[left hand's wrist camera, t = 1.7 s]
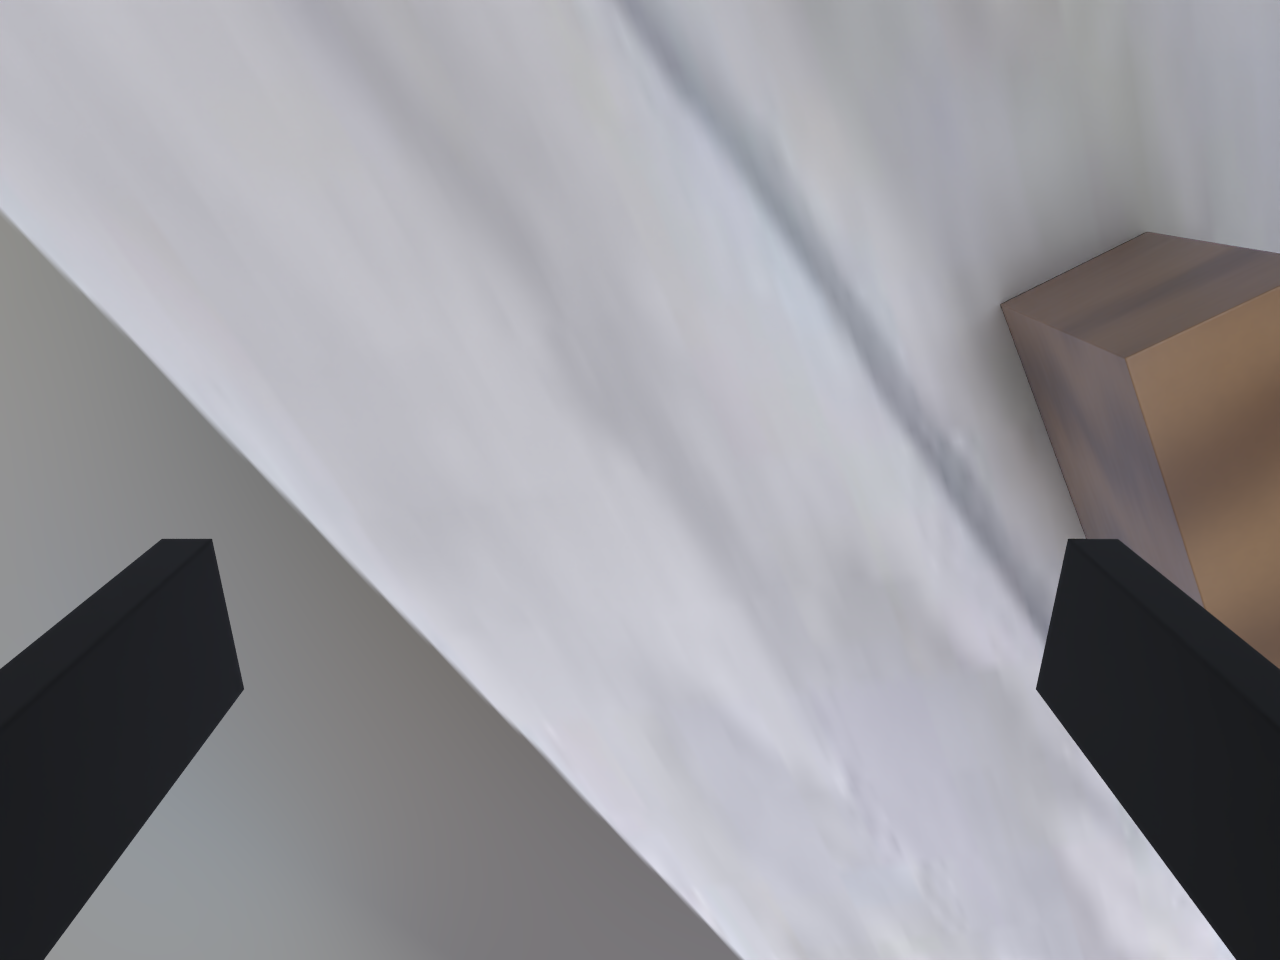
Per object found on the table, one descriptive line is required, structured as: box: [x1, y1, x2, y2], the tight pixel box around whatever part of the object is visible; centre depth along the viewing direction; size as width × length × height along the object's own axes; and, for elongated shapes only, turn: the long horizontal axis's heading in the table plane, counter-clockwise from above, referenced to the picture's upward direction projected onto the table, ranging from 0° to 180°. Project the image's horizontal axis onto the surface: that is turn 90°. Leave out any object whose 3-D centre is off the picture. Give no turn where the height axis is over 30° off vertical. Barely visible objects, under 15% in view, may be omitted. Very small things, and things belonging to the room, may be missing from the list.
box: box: [1001, 232, 1280, 669], centre depth 32 cm, size 24×6×9 cm, turn 28°
